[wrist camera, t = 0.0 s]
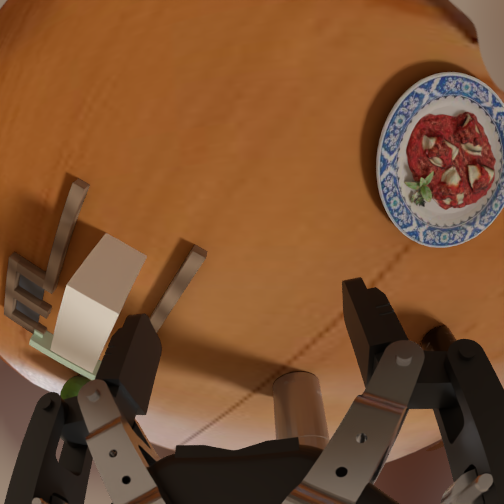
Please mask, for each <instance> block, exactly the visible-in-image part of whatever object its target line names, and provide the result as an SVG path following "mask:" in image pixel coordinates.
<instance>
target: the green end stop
mask: <svg viewBox="0 0 504 504" xmlns="http://www.w3.org/2000/svg"><path fill="white" fill-rule="evenodd" d="M52 340H53V334H51V333H49V332H48V331H46V333H45V334H44V336H43V333H41V332H40V331H38V330H36V329H35V330H34V334H33V335H32V337H31V339H30V344H29V345H31V346H32V347H34V348H36V349H37V350H39V351H41V352H42V353H44V354H46V355H47V356H49V357H51V358H52V359H54V360H56V361H58V362H59V363H61V364H63V365H65V366H66V367H68V368H70V369H72V370H74V371H76V372H78V373H79V374H81V375H83V376H85V377H87V378H89V379H91V380H95V377H96V374H97V372H98V369H99V367H100V364H101V362H102V361H100V360H98V362H97V364H96V366H95V368H94V370H93V373H91V372H89V371H87V370H85V369H83V368H82V367H80V366H78V365H76V364H74V363H72V362H70V361H69V360H67V359H65V358H63V357H62V356H60V355H58V354H56V353H55V352H53V351H51V350H50V349H51V344H52Z"/></svg>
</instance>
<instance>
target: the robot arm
mask: <svg viewBox="0 0 504 504" xmlns="http://www.w3.org/2000/svg"><path fill="white" fill-rule="evenodd" d="M342 293H343V313H344V320H345V324H346V328H347V331H348V334H349V337H350V340H351V343H352V346H353V349H354V352H355V355H356V358H357V362H358V365H359V368H360V371H361V375H362V378H363V381H364V384H365V388H366V389H365V391H364V392H363V394H362V395H358V396H357V397H356V398H355V400H354V401H353V403H352V405H351V407H350V408H349V410H348V412H347V413H346V415H345V417H344V418H343V420H342V422H341V423H340V425H339V427H338V428H337V430H336V432H335V433H334V435H333V436H332V438H331V440H329V434H328V428H327V423H326V417H325V411H324V406H323V400H322V394H321V389H320V384H319V380H318V378H317V377H316V376H315V375H313V374H310V373H306V372H293V373H289V374H286V375H284V376H282V377H280V378H279V379H277V380H276V381H275V383H274V385H273V398H274V415H275V431H276V440H270V441H265V442H262V443H259V444H256V445H252V446H249V447H246V448H243V449H239V450H227V449H222V448H216V447H211V446H206V445H176V452H175V454H172V455H169V456H166V457H164V458H162V459H160V457H159V456H158V455H157V453H156V452H155V450H154V449H153V447H152V445H151V444H150V442H149V441H148V439H147V437H146V435H145V434H144V432H143V430H142V429H141V427H140V425H139V423H138V422H137V421H136V420H135V416H136V415H146V413H147V409H148V405H149V400H150V396H151V392H152V388H153V384H154V380H155V376H156V372H157V368H158V364H159V360H160V356H161V351H162V347H161V342H160V339H159V337H158V335H157V333H156V331H155V329H154V327H153V325H152V323H151V321H150V319H149V317H148V316H147V315H146V314H136V315H129V316H128V317H127V318H126V320H125V323H124V325H123V328H119V329H118V331H117V332H116V333H115V334H114V335H113V336H112V338H111V340H110V343H109V345H108V348H107V350H106V352H105V355H104V357H103V360H102V362H101V364H100V367H99V369H98V372H97V374H96V377H95V380H91V381H89V382H87V383H86V384H85V385H83V386H82V388H81V389H80V391H79V393H78V396H74V397H71V398H67V399H62V398H61V396H60V395H59V394H58V393H55V392H50V393H47V394H45V395H44V396H42V397H41V398H40V400H39V401H38V402H37V405H36V407H35V410H34V412H33V415H32V418H31V420H30V423H29V426H28V428H27V431H26V434H25V437H24V440H23V442H22V445H21V449H20V451H19V454H18V457H17V460H16V464H15V467H14V471H13V474H12V477H11V481H10V484H9V488H8V492H7V495H6V499H5V503H4V504H84V500H85V494H86V489H87V484H88V479H89V474H90V469H91V464H92V459H94V462H95V465H96V467H97V469H98V471H99V474H100V476H101V478H102V481H103V483H104V485H105V487H106V489H107V491H108V494H109V496H110V498H111V500H112V502H113V503H111V504H399V503H398V502H397V501H395V500H394V499H392V498H391V497H389V496H388V495H387V494H385V493H384V492H382V491H381V490H380V489H378V488H377V487H375V486H374V485H373V484H374V482H375V481H376V479H377V477H378V475H379V473H380V472H381V470H382V468H383V466H384V464H385V462H386V460H387V458H388V456H389V453H390V451H391V449H392V447H393V445H394V442H395V440H396V438H397V436H398V434H399V432H400V430H401V427H402V425H403V423H404V421H405V418H406V416H407V414H408V411H409V409H433V411H434V414H435V417H436V420H437V423H438V426H439V430H440V433H441V436H442V440H443V443H444V447H445V450H446V453H447V457H448V461H449V464H450V469H451V472H452V476H453V480H454V483H453V484H452V485H451V486H450V487H449V488H448V489H447V490H446V492H445V493H444V495H443V497H442V500H441V504H504V389H503V387H502V385H501V383H500V381H499V379H498V377H497V375H496V373H495V371H494V369H493V367H492V365H491V363H490V361H489V359H488V357H487V356H486V354H485V352H484V350H483V348H482V347H481V346H480V345H479V344H478V343H477V342H475V341H473V340H469V339H460V340H457V341H455V342H453V343H452V344H451V345H450V346H449V348H448V351H425V350H423V349H422V348H421V347H420V346H419V345H418V344H417V343H415V342H412V341H409V340H408V338H407V336H406V334H405V332H404V330H403V328H402V326H401V324H400V322H399V320H398V318H397V316H396V314H395V313H394V310H393V308H392V306H391V305H390V303H389V301H388V299H387V297H386V295H385V294H384V293H383V292H381V291H380V290H379V289H377V288H376V287H375V288H370V289H367V288H366V286H365V284H364V282H363V280H362V278H361V277H359V278H354V279H349V280H344V281H342ZM60 438H61V439H62V440H63V441H64V444H63V448H62V452H61V456H60V459H59V463H58V461H57V459H56V449H57V446H58V442H59V439H60Z"/></svg>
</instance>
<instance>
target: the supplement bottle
mask: <svg viewBox="0 0 504 504" xmlns="http://www.w3.org/2000/svg"><path fill="white" fill-rule="evenodd" d="M455 341H457V340H456V339H455V337H454V335H453V334H452V332H451V331H450V329H449V328H447V327H445V326H439V327H436V328H434V329H432V330H431V331H429V332H428V333H427V334H426V335H425V337H424V338H423V340H422V344H421V346H422V349H423V350H425V351H448V348H449V346H450V345H451V344H452V343H453V342H455Z"/></svg>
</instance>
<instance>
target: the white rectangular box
mask: <svg viewBox="0 0 504 504" xmlns="http://www.w3.org/2000/svg"><path fill="white" fill-rule="evenodd" d="M146 258H147V256H146V255H145V254H143V253H141V252H139V251H137V250H136V249H134V248H132V247H130V246H129V245H127V244H125V243H123V242H121V241H120V240H118V239H116V238H114V237H113V236H111V235H109V234H107V233H106V234H105V235H104V236H103V237H102V239H101V240H100V241H99V242H98V244H97V245H96V246H95V247H94V249H93V250H92V251H91V253H90V254H89V255H88V256H87V258H86V259H85V260H84V262H83V263H82V264H81V266H80V267H79V268H78V270H77V271H76V272H75V274H74V275H73V277H72V278H71V279H70V281H69V282H68V283H67V285H66V289H65V292H64V296H63V299H62V303H61V307H60V311H59V314H58V318H57V323H56V327H55V331H54V335H53V340H52V344H51V349H50V350H51V351H53V352H55V353H56V354H58V355H60V356H62V357H63V358H65V359H67V360H69V361H70V362H72V363H74V364H76V365H78V366H80V367H82V368H83V369H85V370H87V371H89V372H91V373H93V370H94V368H95V366H96V364H97V362H98V359H99V357H100V355H101V353H102V350H103V348H104V346H105V344H106V342H107V339H108V337H109V335H110V333H111V331H112V329H113V327H114V324H115V322H116V320H117V318H118V316H119V314H120V312H121V310H122V308H123V306H124V303H125V300H126V298H127V296H128V294H129V292H130V290H131V288H132V286H133V284H134V282H135V280H136V278H137V276H138V274H139V272H140V270H141V268H142V266H143V264H144V262H145V260H146Z"/></svg>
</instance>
